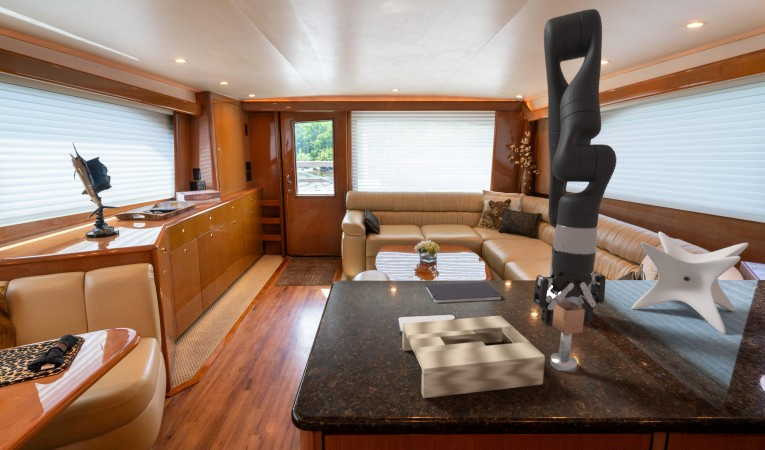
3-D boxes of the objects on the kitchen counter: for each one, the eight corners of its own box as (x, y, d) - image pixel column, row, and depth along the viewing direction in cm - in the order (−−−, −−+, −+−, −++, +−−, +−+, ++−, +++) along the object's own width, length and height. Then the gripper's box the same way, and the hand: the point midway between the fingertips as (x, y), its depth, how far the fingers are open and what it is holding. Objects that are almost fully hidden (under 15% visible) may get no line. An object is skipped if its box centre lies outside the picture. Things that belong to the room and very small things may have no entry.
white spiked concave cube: (630, 309, 105) (640, 241, 101) (649, 291, 118) (658, 231, 114) (725, 334, 90) (740, 256, 86) (734, 311, 103) (748, 242, 99)
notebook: (486, 286, 124) (425, 289, 122) (486, 282, 124) (425, 284, 122) (502, 301, 112) (434, 304, 110) (502, 296, 112) (434, 299, 109)
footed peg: (566, 358, 80) (572, 300, 77) (581, 371, 75) (588, 310, 73) (545, 360, 79) (550, 302, 77) (559, 373, 74) (566, 312, 72)
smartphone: (399, 338, 90) (463, 335, 91) (399, 332, 90) (463, 329, 91) (396, 322, 99) (454, 319, 100) (396, 316, 99) (454, 313, 99)
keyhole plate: (498, 338, 89) (500, 315, 87) (542, 384, 71) (545, 356, 70) (402, 347, 85) (402, 323, 84) (423, 398, 67) (424, 368, 66)
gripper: (592, 241, 77) (584, 313, 80) (530, 244, 75) (524, 317, 78) (621, 250, 70) (610, 329, 73) (552, 253, 68) (545, 334, 71)
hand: (566, 323), depth 75 cm, fingers open, 8 cm apart
